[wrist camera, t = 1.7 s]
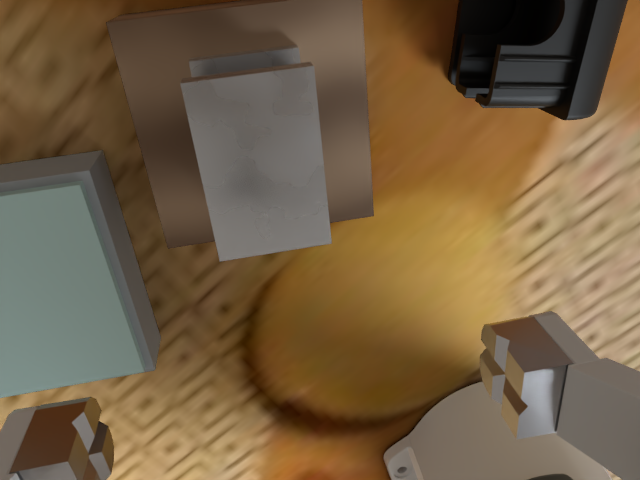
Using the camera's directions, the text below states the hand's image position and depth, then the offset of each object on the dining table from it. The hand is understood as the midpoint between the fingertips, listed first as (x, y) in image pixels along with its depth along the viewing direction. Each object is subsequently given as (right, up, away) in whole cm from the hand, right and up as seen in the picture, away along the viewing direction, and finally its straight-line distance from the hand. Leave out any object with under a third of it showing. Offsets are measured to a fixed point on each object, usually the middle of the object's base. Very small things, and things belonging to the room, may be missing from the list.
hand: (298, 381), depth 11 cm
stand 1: (-18, +1, +22) cm, 29 cm away
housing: (-3, +9, +16) cm, 19 cm away
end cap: (+12, +17, +20) cm, 28 cm away
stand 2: (-3, +10, +20) cm, 23 cm away
